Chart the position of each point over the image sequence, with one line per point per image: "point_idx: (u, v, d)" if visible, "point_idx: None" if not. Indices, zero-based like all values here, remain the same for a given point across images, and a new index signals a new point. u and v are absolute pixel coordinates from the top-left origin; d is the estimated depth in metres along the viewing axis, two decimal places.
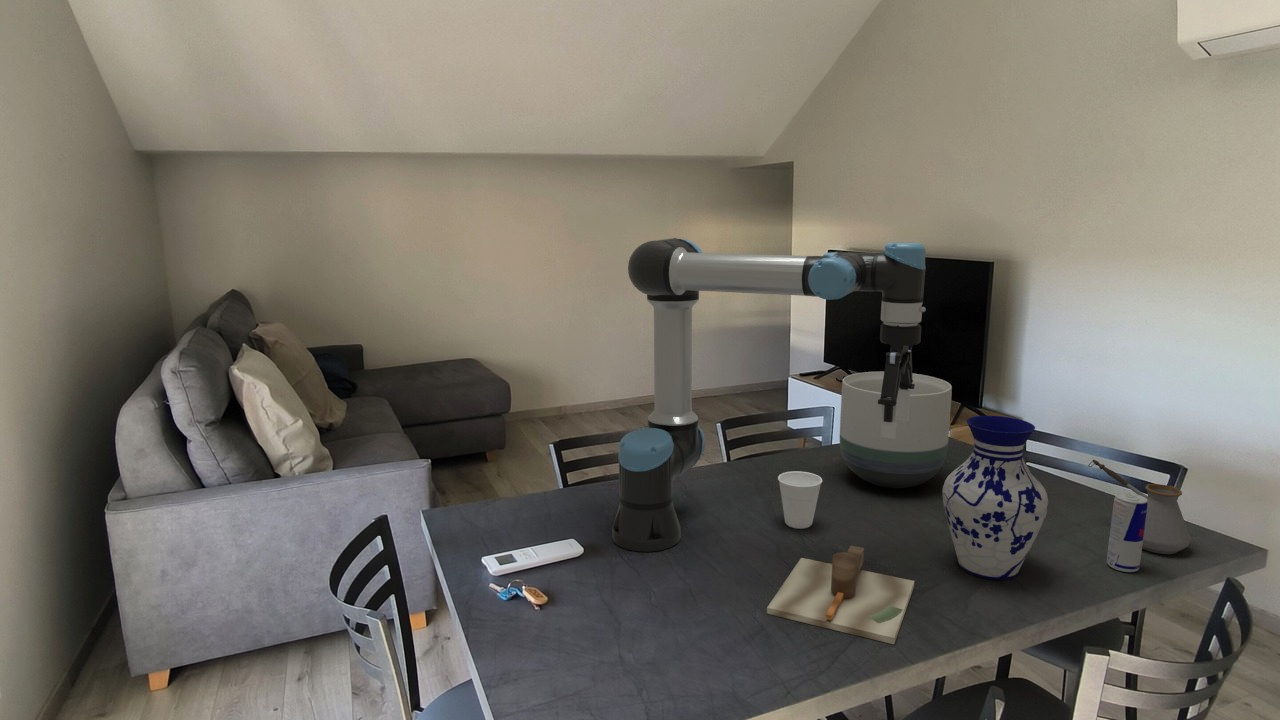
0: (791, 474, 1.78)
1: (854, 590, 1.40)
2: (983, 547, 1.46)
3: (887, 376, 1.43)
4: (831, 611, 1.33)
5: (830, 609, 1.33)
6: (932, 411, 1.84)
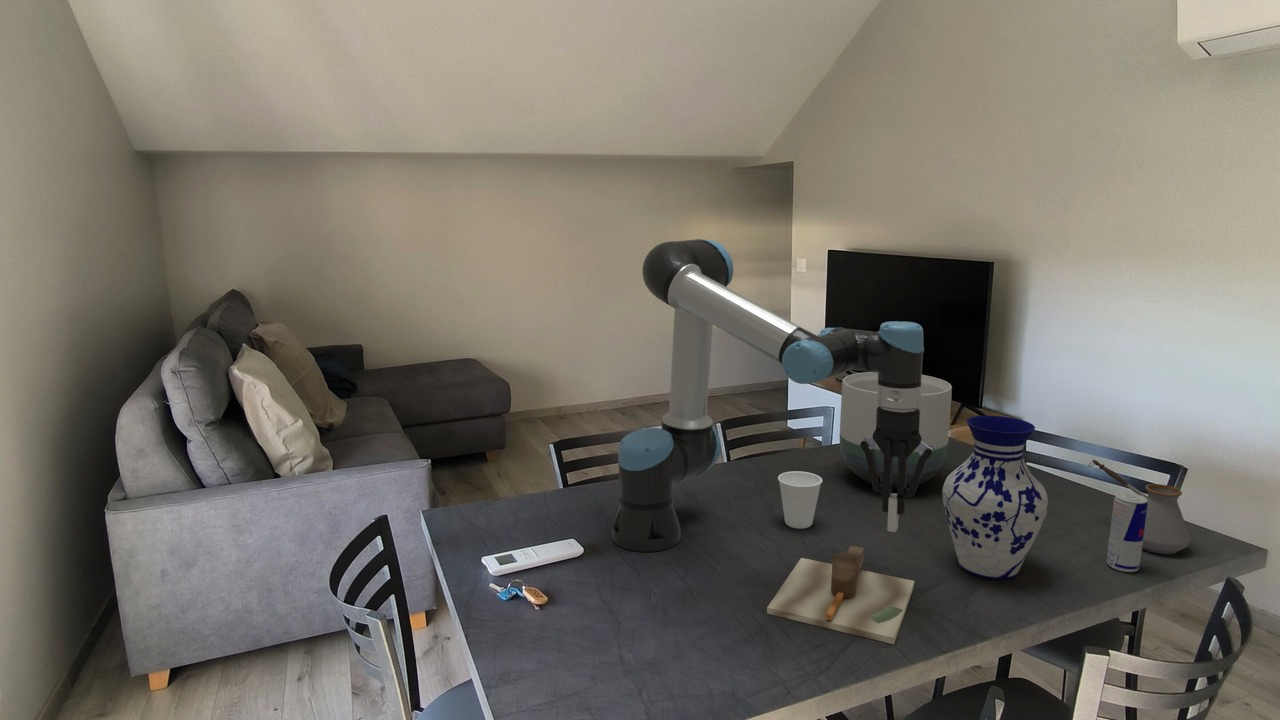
0: (791, 474, 1.78)
1: (854, 590, 1.40)
2: (983, 547, 1.46)
3: None
4: (831, 611, 1.33)
5: (830, 609, 1.33)
6: (932, 411, 1.84)
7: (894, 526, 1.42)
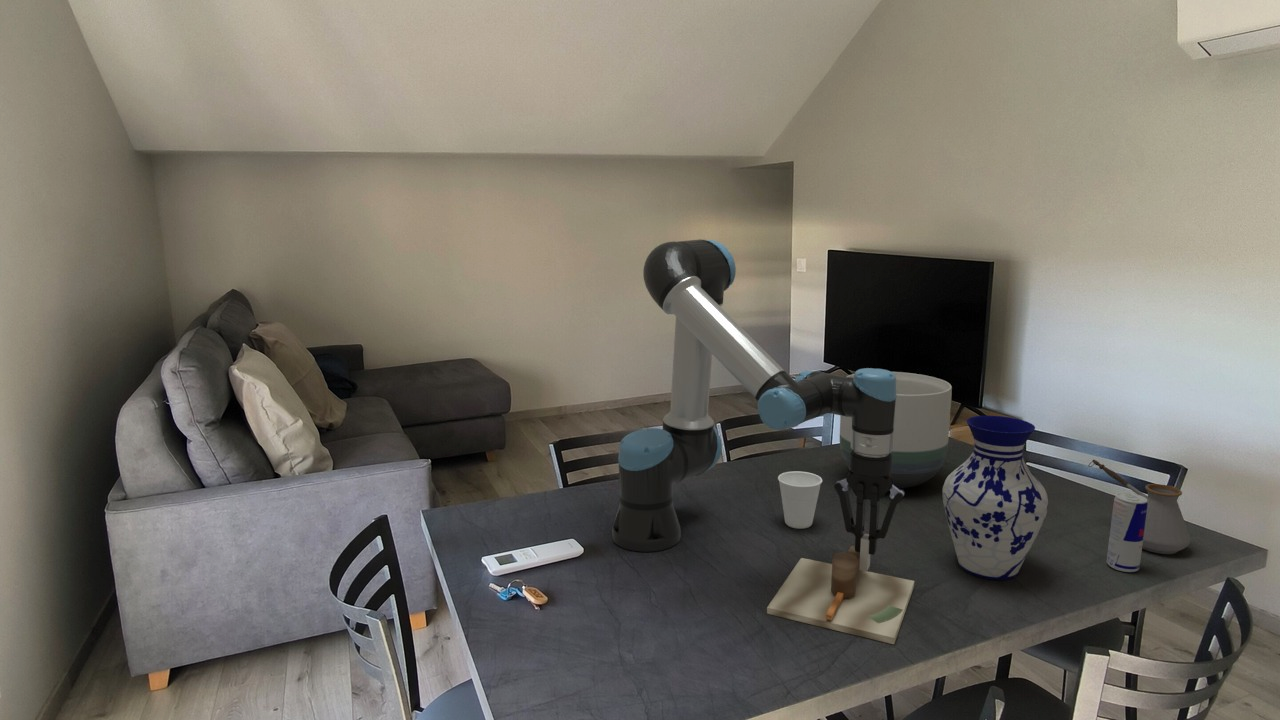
0: (791, 474, 1.78)
1: (854, 590, 1.40)
2: (983, 547, 1.46)
3: None
4: (831, 611, 1.33)
5: (830, 609, 1.33)
6: (932, 411, 1.84)
7: (866, 566, 1.46)
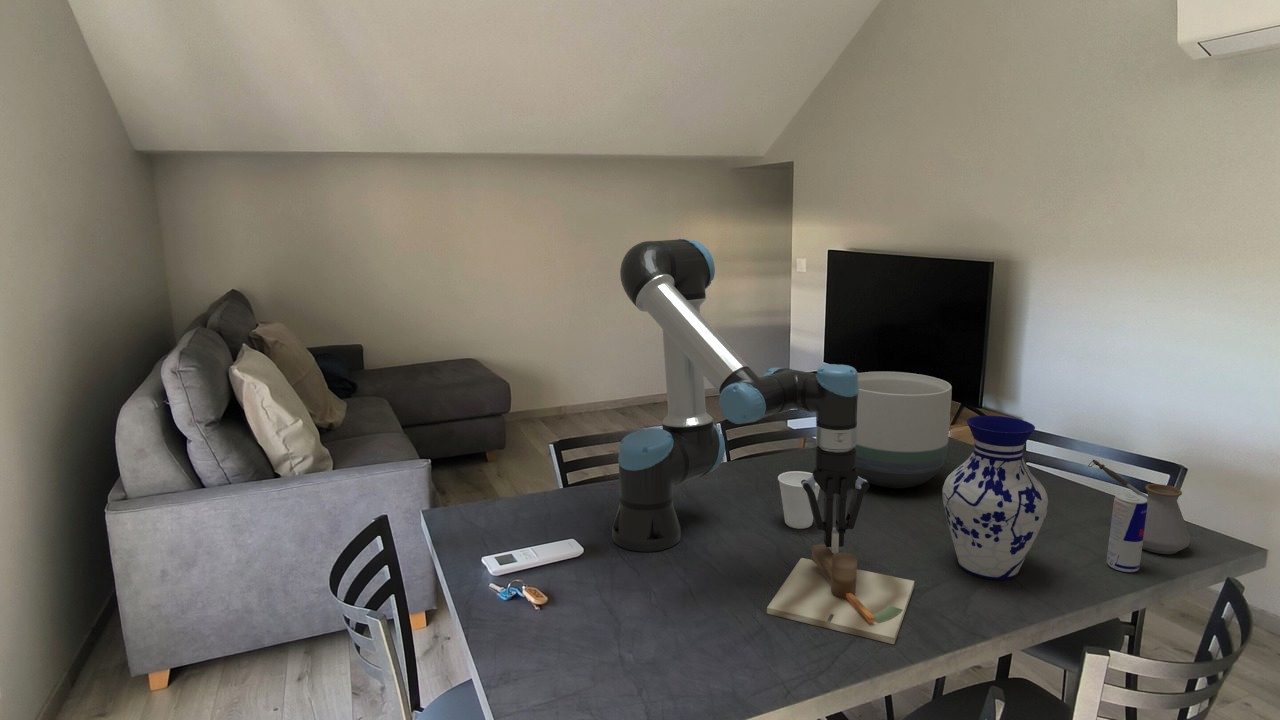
0: (791, 474, 1.78)
1: None
2: (983, 547, 1.46)
3: None
4: (868, 613, 1.32)
5: (865, 612, 1.32)
6: (932, 411, 1.84)
7: None
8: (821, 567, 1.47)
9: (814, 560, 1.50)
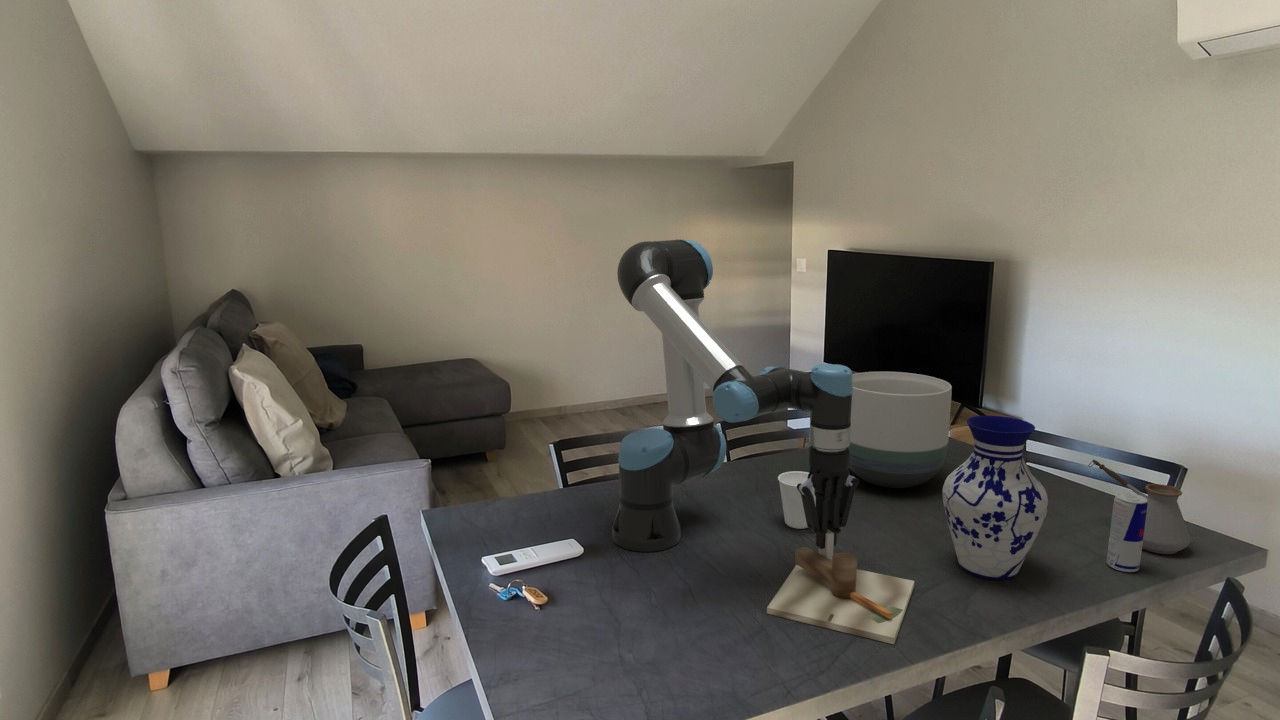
0: (791, 474, 1.78)
1: None
2: (983, 547, 1.46)
3: (805, 506, 1.46)
4: (884, 609, 1.33)
5: (880, 608, 1.33)
6: (932, 411, 1.84)
7: (831, 559, 1.48)
8: (812, 570, 1.46)
9: (800, 564, 1.49)
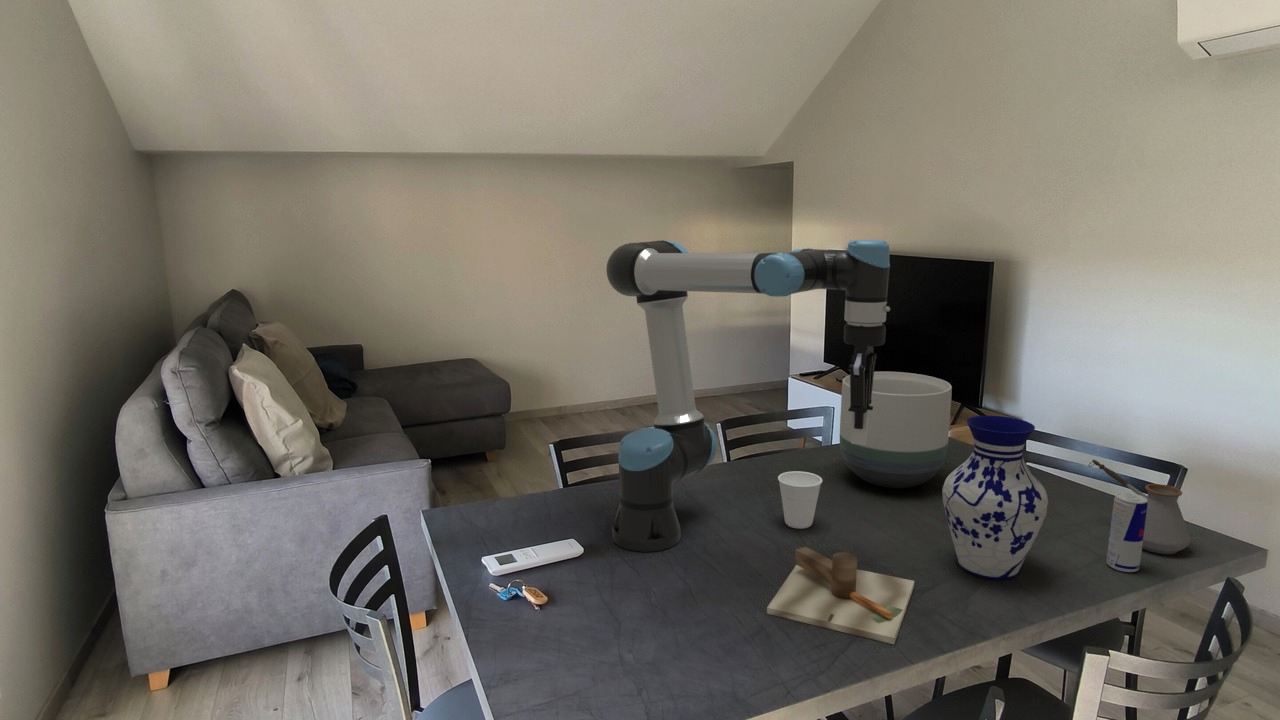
0: (791, 474, 1.78)
1: None
2: (983, 547, 1.46)
3: (854, 387, 1.42)
4: (884, 609, 1.33)
5: (880, 608, 1.33)
6: (932, 411, 1.84)
7: None
8: (812, 570, 1.46)
9: (800, 564, 1.49)
